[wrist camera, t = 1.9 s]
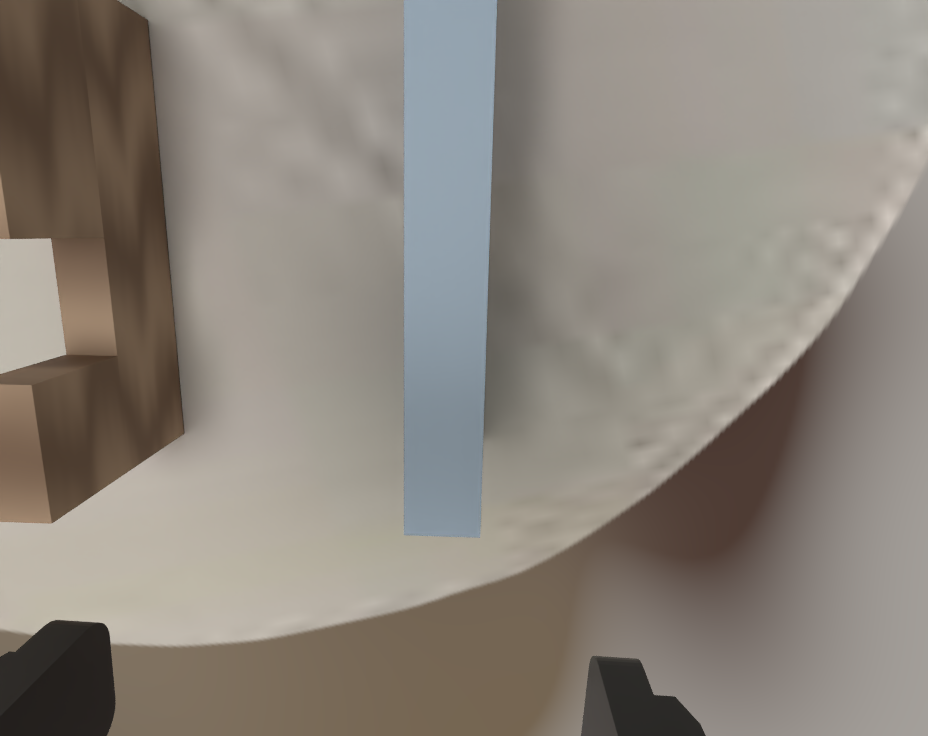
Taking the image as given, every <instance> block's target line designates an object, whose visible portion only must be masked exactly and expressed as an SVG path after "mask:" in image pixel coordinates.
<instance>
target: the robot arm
mask: <svg viewBox="0 0 928 736" xmlns="http://www.w3.org/2000/svg"><path fill="white" fill-rule="evenodd" d="M114 711H115V690H114V679H113V668H112V658H111V645H110V635H109V631H108V628H107V627H106V625H105V624H103V623H95V622H80V621H64V620H55V621H51V622H50V623H48V624H46V625H45V626H44V627H43V628H42V629H40V630H39V631H38V632H37V633H36V634H35V635H34V636H33V637H32V638H30V639H29V640H28V641H27V642H26V643H25V644H24V645H23V646H21V647H20V648H19V649H18V650H17V651H16V652H8V653H6V654H4V655H3V656H1V657H0V736H107V734H108V732H109V729H110V727H111V723H112V721H113V716H114ZM581 736H705V734H704V731H703V729H702V727H701V725H700V723H699V722H698V721H697V720H696V719H695V718H694V717H693V716H692V715H691V714H690V713H689V711H688V710H687V709H686V708H685V707H684V706H683V705H682V704H681V703H680V702H679V701H678V699H677V698H676V697H672V696H658V695H657V696H656V695H654V694H653V692H652V689H651V687H650V684H649V681H648V679H647V676H646V673H645V671H644V668H643V666H642V663H641V662H640V660H639V659H632V658H617V657H602V656H592V658H591V660H590V664H589V672H588V681H587V689H586V698H585V707H584V715H583V725H582V733H581Z"/></svg>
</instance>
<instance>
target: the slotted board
mask: <svg viewBox="0 0 928 736" xmlns="http://www.w3.org/2000/svg"><path fill="white" fill-rule="evenodd" d="M36 238H51V240H52V248H53V255H54V263H55V271H56V278H57V286H58V293H59V301H60V309H61V316H62V324H63V331H64V339H65V347H66V354H67V355H64V356H60V357H57V358H54V359H50V360H47V361H43V362H40V363H37V364H33V365H30V366H26V367H23V368H20V369H16V370H13V371H10V372H6V373H3V374H0V522H23V523H53V522H55V521H56V520H58V519H59V518H61V517H62V516H63V515H65V514H66V513H68V512H69V511H71V510H72V509H74V508H75V507H77V506H78V505H80V504H81V503H83V502H84V501H86V500H87V499H88V498H90V497H91V496H93V495H94V494H96V493H97V492H99V491H100V490H102V489H103V488H105V487H106V486H108V485H109V484H111V483H112V482H114V481H115V480H116V479H118V478H119V477H121V476H122V475H124V474H125V473H127V472H128V471H130V470H131V469H133V468H134V467H136V466H137V465H139V464H140V463H141V462H143V461H144V460H146V459H147V458H149V457H150V456H152V455H153V454H155V453H156V452H158V451H159V450H161V449H162V448H164V447H165V446H167V445H168V444H169V443H171V442H172V441H174V440H175V439H177V438H178V437H180V436H181V435H183V434H184V427H183V415H182V404H181V393H180V381H179V370H178V359H177V348H176V336H175V325H174V314H173V302H172V291H171V280H170V268H169V257H168V246H167V235H166V223H165V212H164V201H163V189H162V178H161V167H160V156H159V144H158V133H157V122H156V110H155V99H154V88H153V77H152V65H151V54H150V43H149V31H148V20H147V19H145V18H144V17H142V16H141V15H139V14H137V13H136V12H134V11H133V10H131V9H130V8H128V7H127V6H125V5H123V4H122V3H120V2H119V1H117V0H0V239H36Z"/></svg>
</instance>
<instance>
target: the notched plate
mask: <svg viewBox="0 0 928 736" xmlns="http://www.w3.org/2000/svg"><path fill="white" fill-rule="evenodd" d="M496 20H497V0H404V535H417V536H447V537H477V538H480V524H481V493H482V461H483V430H484V398H485V367H486V335H487V304H488V272H489V241H490V209H491V178H492V146H493V114H494V83H495V51H496Z"/></svg>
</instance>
